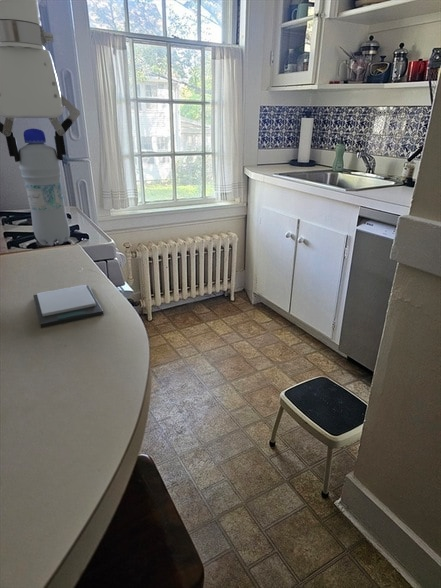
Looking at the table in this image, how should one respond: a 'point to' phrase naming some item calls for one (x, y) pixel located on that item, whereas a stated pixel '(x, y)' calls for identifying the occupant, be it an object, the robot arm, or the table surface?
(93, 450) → the table surface
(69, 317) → the scale
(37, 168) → the bottle
